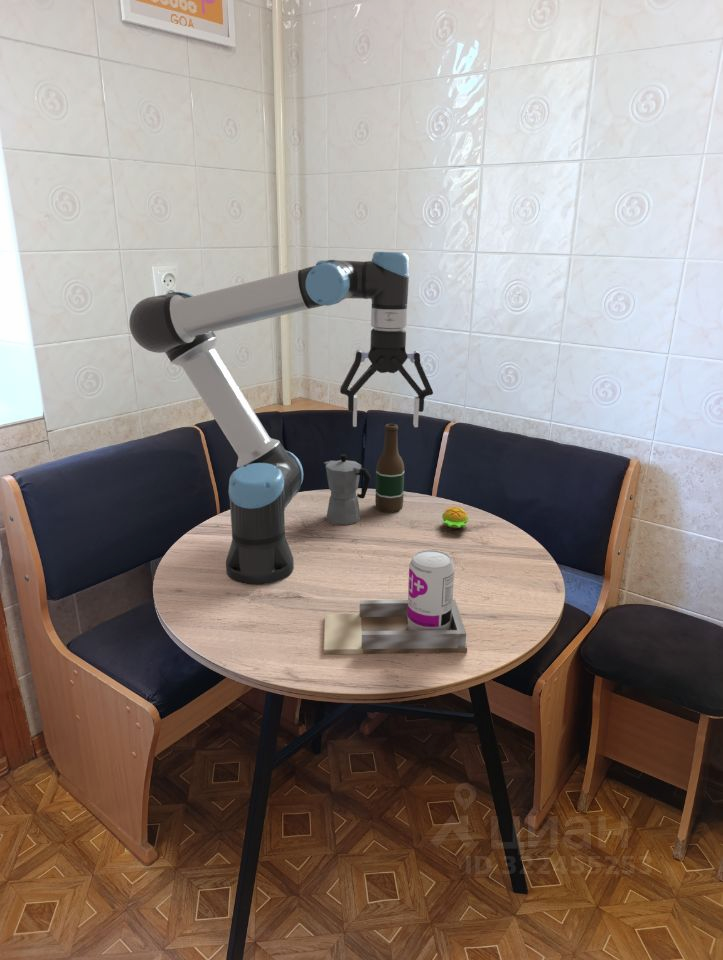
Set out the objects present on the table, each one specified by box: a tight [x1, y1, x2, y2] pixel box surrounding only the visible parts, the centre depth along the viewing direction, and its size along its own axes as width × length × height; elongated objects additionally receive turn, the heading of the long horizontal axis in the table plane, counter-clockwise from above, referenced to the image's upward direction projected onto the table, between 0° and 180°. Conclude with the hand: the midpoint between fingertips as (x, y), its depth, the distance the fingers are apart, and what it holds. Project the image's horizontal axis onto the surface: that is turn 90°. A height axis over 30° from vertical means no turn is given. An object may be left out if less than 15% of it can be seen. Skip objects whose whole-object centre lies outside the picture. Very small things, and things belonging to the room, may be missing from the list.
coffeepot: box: [323, 454, 372, 526], centre depth 174 cm, size 15×9×18 cm, turn 51°
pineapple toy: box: [441, 506, 469, 529], centre depth 171 cm, size 7×10×5 cm
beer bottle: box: [374, 423, 405, 514], centre depth 181 cm, size 8×8×24 cm
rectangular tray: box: [323, 599, 468, 655], centre depth 125 cm, size 26×12×4 cm, turn 92°
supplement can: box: [407, 549, 456, 631], centre depth 123 cm, size 8×8×15 cm
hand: (385, 425), depth 148 cm, fingers open, 13 cm apart
